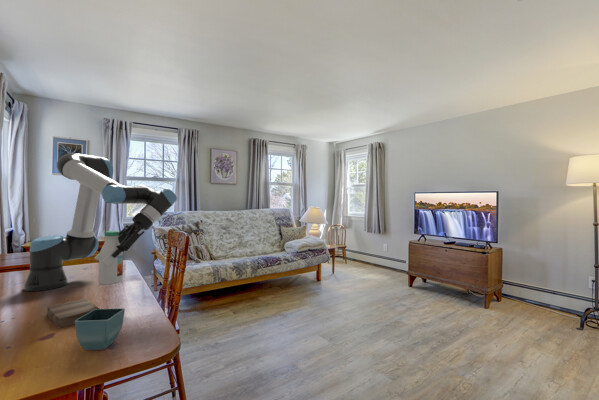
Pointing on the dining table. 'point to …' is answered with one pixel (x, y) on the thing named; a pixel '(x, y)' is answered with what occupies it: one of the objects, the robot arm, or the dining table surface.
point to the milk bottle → (115, 269)
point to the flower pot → (99, 328)
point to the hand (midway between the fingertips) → (100, 261)
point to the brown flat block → (69, 312)
